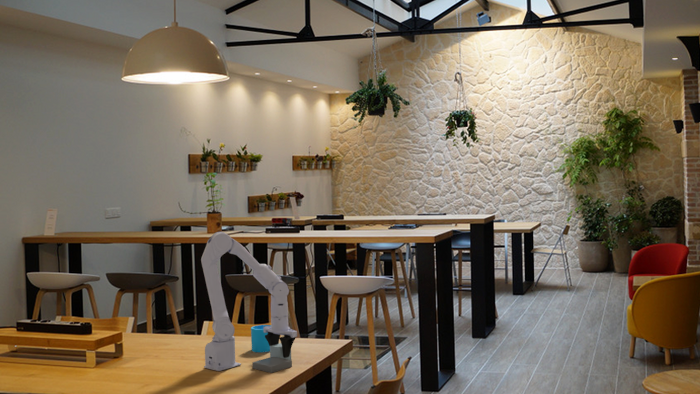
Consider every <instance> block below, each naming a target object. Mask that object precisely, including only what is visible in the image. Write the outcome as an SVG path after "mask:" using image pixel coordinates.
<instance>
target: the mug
mask: <svg viewBox="0 0 700 394" xmlns="http://www.w3.org/2000/svg"><path fill="white" fill-rule="evenodd" d="M266 326H271V324H259V325H253V326H251V327H250V337H251V339H250V340H251V351H252V352H253V353H267V352H269V353H270V346H269V343H268V341H267V340H266V338H265V335H268V333H264V328H263V327H266Z"/></svg>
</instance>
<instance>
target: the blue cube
mask: <svg viewBox="0 0 700 394" xmlns="http://www.w3.org/2000/svg"><path fill="white" fill-rule="evenodd" d="M269 357H278V358H283V359H287V360H292V350H291V351H290V355H289V357H287V358H284V357H283V350H282V344H281V342H279V344H276V345H272V346H270V351H269Z"/></svg>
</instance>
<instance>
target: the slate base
mask: <svg viewBox="0 0 700 394" xmlns="http://www.w3.org/2000/svg"><path fill="white" fill-rule="evenodd" d="M251 363H252V364H251V365H252V369H254V370H258V371H261V372H266V373H270V374H273V373H276V372H278V371H283V370H285V369H289V368H292V367H293V361H292V359H291V360H287V359H283V358H278V357H270V356H269V357H266V358H263V359H260V360H259V359H258V360H256V361H253V362H251Z"/></svg>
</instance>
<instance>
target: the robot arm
mask: <svg viewBox="0 0 700 394" xmlns="http://www.w3.org/2000/svg"><path fill="white" fill-rule="evenodd" d="M226 253H229V254H231V255H235V256H237V257H238V258H239V259H240V260H242V262H243V263H244V264H245V265H247V266H248V267H249V268H250V269H251V270H252V275H253V277H254V279H256V280H257V282H259V284H260V285H262V286H263V287H264V288H265V289H266V290H268V292H269V294H271V295H270V325H271V326H266V327H263V328H264V333H268V335H265V338H266V340H267V341H268V343H269V346H272V345H276V344H279V343H281V344H282V350H283V357H284V358H287V357H289V355H290V351H291V352H292V346H293V344H294V342H295V340H296V339H297V337H298V331H297V330H295V329H292V328H291V326H289V307H288V306H289V303H288V296H289V293H290V289H289V286H288V284H287V283H286V282H285V281H283V280H282V277H281V276H280V275H277V273H275V272H274V271H273V270H272V268H273V267H272V266H271V265H270V264H266V263H259V262H258V260H257V259H256V258H255V257H254V256H253V255H252V254H251V253H250V252H249V251H248V250H247V249H246V248H245V246H243V245H242V244H241V243H240V242H239V241H237V240H235V239H234V238H232V237H231V236H230V235H229V234H227V232H224V231H217V232H214V233H213V234H212V235H211V236H210V237H209V239H208V240H207V242H206V244H205V248H204V250H203V253H202V256H201V259H200V261H201V267H202V271H203V275H204V280H205V284H206V289H207V294H208V298H209V301H210V302H209V303H210V306H211V312H212V318H213V319H212V320H213V322H212V326H211V328H212V331H213V332H214V335H213V336H212V338H211V339H212V340H211V341H210V342H207V344H206V345H205V346H204V364H205V365H204V366H203V368H205V369H209V370H213V371H216V372H221V371H224V370H228V369H231V368H235V367H238V366H241V365H242V363H241V362H237V361H236V338H235V336H234V335H235V326H234V324H233V323H232V322H231V319H230V317H229V313H228V309H227V306H226V305H227V304H226V301H225V296H224V291H223V287H222V283H221V277H220V274H219V269H218V265H217V263H218V262H219V261H220V259H221V257H222V256H223V255H224V254H226Z"/></svg>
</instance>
